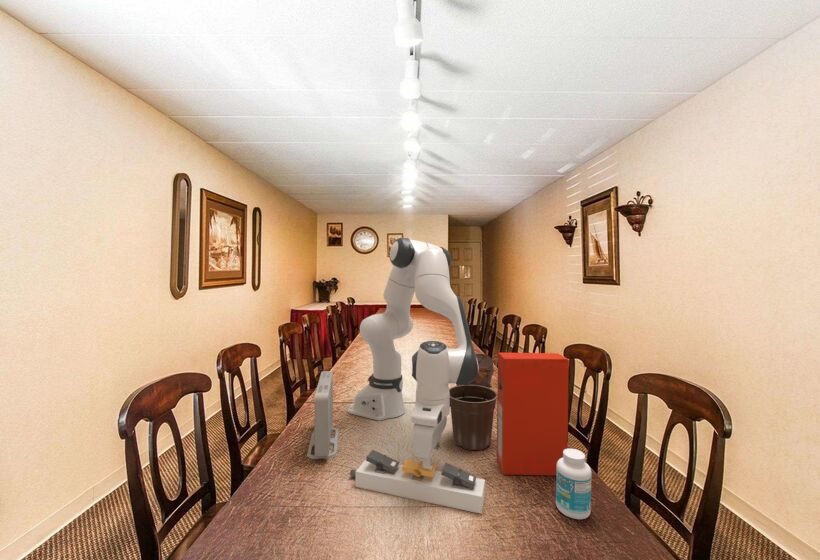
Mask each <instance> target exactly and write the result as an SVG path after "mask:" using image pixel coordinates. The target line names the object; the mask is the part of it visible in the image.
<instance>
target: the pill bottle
mask: <svg viewBox="0 0 820 560" xmlns="http://www.w3.org/2000/svg"><path fill="white" fill-rule="evenodd" d="M592 473H593V472H592V468H591V467H590V466H589V464H588V463H587V462H586V454H585V453H584V452H583V451H581V450H579V449H576V448H567V449H565V450H564V451H563V458H561V459H559V460H558V462H557V467H556V475H555V476H556V480H555V505H556V507H557V509H558V511H559V512H560V513H562V514H563V515H564V516H566V517H568V518H571V519H574V520H584V519H587V518H589V516H590V515H591V511H592V510H591V505H592V502H591V501H592Z"/></svg>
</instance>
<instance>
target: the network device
mask: <svg viewBox="0 0 820 560" xmlns="http://www.w3.org/2000/svg"><path fill="white" fill-rule="evenodd" d="M333 374H334V373H333V370H329V371H328V370H327V371H325V370H323V371H321V373H320V376H319V380H318V383H317V385H316V390H315V394H314V430H313V431H312V433H311V437H310V441H309V445H308V450H307V453H306V454H307V457H308V458H309V459H312V460H319V459H330V458H333V457H335V456H336V455H338V454H337V453H338V447H339V446H338V445H339V433H340V432H339V430H340V429H338V428H335V427H333V419H334V415H333V414H334V413H333V411H334V404H333V401H334V397H333V396H334V394H333V393H334V388H333V387H334V386H333V385H334V379H333V378H334V375H333ZM332 432H335V435H334V437H332ZM330 446H333V452H331V453H330ZM313 448H314V454H312V451H313Z"/></svg>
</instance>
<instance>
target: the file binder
mask: <svg viewBox="0 0 820 560" xmlns="http://www.w3.org/2000/svg"><path fill="white" fill-rule="evenodd" d="M569 367H570V359H569V358H567V357H566V356H563V355H562V354H561V353H559V352H557V353H555V352H497V392H496V393H497V399H496V402H497V403H496V405H497V407H496V409H497V410H496V412H497V413H496V417H497V418H496V421H497V422H496V461H497V464H498V466H499V469H500V471H501V474H502V475H507V476H508V475H511V476H512V475H513V476H514V475H515V476H517V475H518V476H556V467H557V462H558V460H559V459H561V458H563V451H564V450H565V449H568V442H569V441H568V439H569V438H568V435H569V430H568V429H569V383H570V381H569V373H570V372H569V371H570V368H569Z"/></svg>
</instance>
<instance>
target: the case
mask: <svg viewBox="0 0 820 560" xmlns="http://www.w3.org/2000/svg"><path fill="white" fill-rule="evenodd" d="M475 355H476V357H477V361H478V366H479V371H478V377H477V378H476V379H475V380H474V381H473V382H472V383H470V384H469V385H479V386H484V387H488V388H490V389H492V386H493V385H491V383H492V379H493V376H494V360H493V359H492V358H491V357H490V356H489V355H487V354H485V353H475ZM459 385H460V384H456V383H455V386H459Z"/></svg>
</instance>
